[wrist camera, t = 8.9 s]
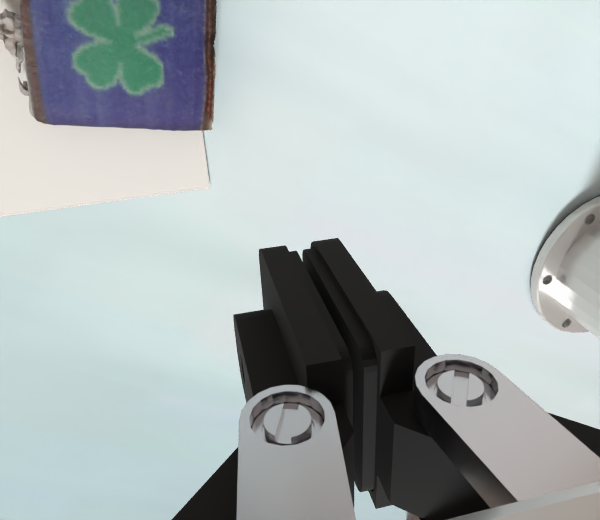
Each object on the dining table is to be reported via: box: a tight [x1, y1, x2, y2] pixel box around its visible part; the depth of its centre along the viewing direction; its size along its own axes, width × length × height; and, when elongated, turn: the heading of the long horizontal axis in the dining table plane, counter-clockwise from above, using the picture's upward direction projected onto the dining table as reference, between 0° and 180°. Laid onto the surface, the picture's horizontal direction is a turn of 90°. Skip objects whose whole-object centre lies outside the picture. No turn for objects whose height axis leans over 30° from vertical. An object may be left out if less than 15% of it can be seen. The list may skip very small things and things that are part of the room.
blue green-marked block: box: [0, 0, 216, 131], centre depth 27 cm, size 9×3×11 cm
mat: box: [0, 0, 210, 217], centre depth 28 cm, size 16×16×1 cm
